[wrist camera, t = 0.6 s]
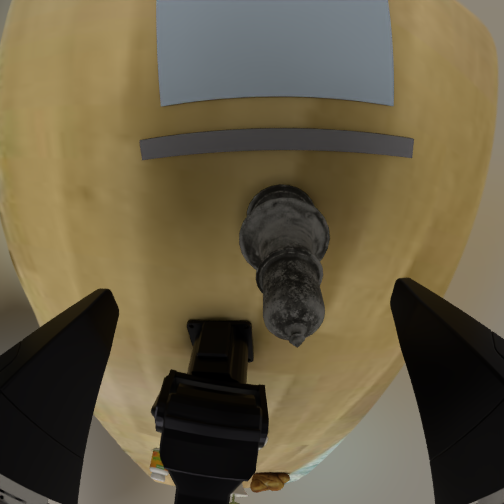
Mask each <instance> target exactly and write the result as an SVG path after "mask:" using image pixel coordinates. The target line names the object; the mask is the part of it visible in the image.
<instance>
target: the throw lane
mask: <svg viewBox="0 0 504 504" xmlns="http://www.w3.org/2000/svg"><path fill="white" fill-rule="evenodd" d="M156 19H157V55H158V73H159V88H160V100H161V106H167V105H173V104H180V103H187V102H195V101H203V100H213V99H224V98H239V97H264V96H293V97H319V98H333V99H344V100H354V101H362V102H370V103H377V104H383V105H389V106H393V105H394V68H393V46H392V33H391V22H390V13H389V6H388V0H157V3H156ZM413 144H414V139H412V138H406V137H400V136H393V135H385V134H377V133H368V132H358V131H346V130H331V129H308V128H257V129H234V130H219V131H207V132H196V133H187V134H179V135H171V136H164V137H157V138H150V139H144V140H140V148H141V155H142V160H147V159H154V158H162V157H171V156H180V155H190V154H201V153H214V152H230V151H252V150H320V151H342V152H358V153H370V154H381V155H391V156H400V157H408V158H412V154H413Z"/></svg>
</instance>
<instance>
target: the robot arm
mask: <svg viewBox="0 0 504 504" xmlns="http://www.w3.org/2000/svg"><path fill="white" fill-rule="evenodd" d="M390 306H391V310H392V314H393V318H394V322H395V326H396V331H397V335H398V339H399V343H400V347H401V351H402V354H403V357H404V360H405V363H406V366H407V370H408V373H409V376H410V379H411V383H412V386H413V390H414V393H415V397H416V401H417V405H418V408H419V412H420V416H421V421H422V425H423V429H424V434H425V439H426V444H427V449H428V454H429V460H430V466H431V473H432V480H433V488H434V496H435V504H469V503H472V502H474V501H477V500H478V503H476V504H504V339H503V338H501V337H500V336H498V335H497V334H496V333H494V332H491V330H490V329H488V328H487V327H485V326H484V325H482V324H481V323H480V322H478V321H477V320H475V319H474V318H472V317H471V316H469V315H468V314H466V313H465V312H463V311H462V310H460V309H459V308H457V307H456V306H454V305H452V304H451V303H449V302H448V301H446V300H445V299H443V298H441V297H440V296H438V295H437V294H435V293H433V292H432V291H430V290H429V289H427V288H425V287H424V286H422V285H420V284H419V283H417V282H416V281H414V280H412V279H411V278H399V279H397V280H396V282H395V285H394V289H393V292H392V296H391V300H390ZM118 317H119V308H118V306H117V303H116V301H115V299H114V296H113V294H112V292H111V291H110V290H109V289H97V290H96V291H94V292H93V293H91V294H89V295H88V296H86V297H85V298H83V299H82V300H80V301H79V302H77V303H76V304H74V305H72V306H71V307H69V308H68V309H66V310H65V311H63V312H62V313H60V314H59V315H57V316H56V317H55V318H53V319H52V320H50V321H49V322H47V323H46V324H44V325H43V326H41V327H40V328H38V329H37V330H36V331H34V332H33V333H31V334H30V335H29V336H27V337H26V338H24V339H23V340H22V341H20V342H19V343H17V344H16V345H14V346H13V347H12V348H10V349H9V350H7V351H6V352H5V353H3V354H2V355H0V504H49V503H48V499H51V500H53V501H56V502H59V503H61V504H78V495H79V486H80V479H81V472H82V466H83V458H84V453H85V448H86V443H87V438H88V434H89V429H90V424H91V420H92V416H93V412H94V408H95V404H96V400H97V396H98V393H99V389H100V385H101V382H102V378H103V375H104V372H105V368H106V365H107V362H108V358H109V355H110V351H111V347H112V342H113V338H114V333H115V329H116V325H117V321H118ZM187 329H188V332H189V336H190V339H191V342H192V345H193V350H192V354H191V359H190V363H189V368H188V372H187V374H186V373H181V372H177V371H176V370H172V369H171V370H170V373H169V375H168V376H166V377H165V378H164V381H163V384H162V388H161V391H160V393H159V395H158V397H157V399H156V401H155V403H154V405H153V406H152V409H151V413H152V415H153V416H154V418H155V423H156V431H157V432H160V433H162V434H161V441H160V449H159V453H160V459H161V462H162V464H163V467H164V468H165V469H166V470H168V472H169V474H170V476H171V478H172V480H173V482H174V484H175V485H176V494H175V502H174V504H229V501H230V495H231V494H232V493H233V492H234V491H235V490H236V488H237V487H238V486H239V485H240V484H241V483H242V482H243V481H248V480H249V479H250V478H251V477H252V475H253V474H254V473H255V471H256V463H257V456H258V450H259V448H263V446H264V445H265V442H266V439H267V434H268V425H269V417H268V408H267V400H266V392H265V385H252V384H246V382H247V364H248V362H252V361H253V358H254V357H253V342H252V326H251V323H250V322H248V321H198V320H189V321H188V322H187Z"/></svg>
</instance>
